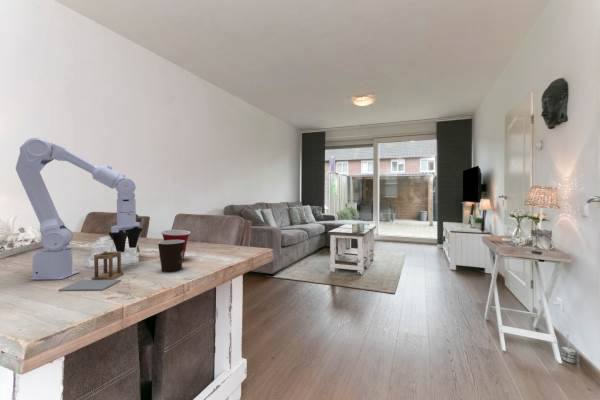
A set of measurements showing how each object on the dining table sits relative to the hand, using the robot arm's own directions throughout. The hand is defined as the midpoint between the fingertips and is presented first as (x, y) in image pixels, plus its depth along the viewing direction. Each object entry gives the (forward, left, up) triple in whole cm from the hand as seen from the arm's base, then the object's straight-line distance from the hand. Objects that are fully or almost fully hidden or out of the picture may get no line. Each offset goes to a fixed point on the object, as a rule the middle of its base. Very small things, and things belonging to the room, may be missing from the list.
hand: (126, 249), depth 100 cm
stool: (0, -11, -7) cm, 13 cm away
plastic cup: (+13, +11, -7) cm, 19 cm away
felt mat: (0, -18, -7) cm, 20 cm away
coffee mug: (+17, -1, -7) cm, 18 cm away
